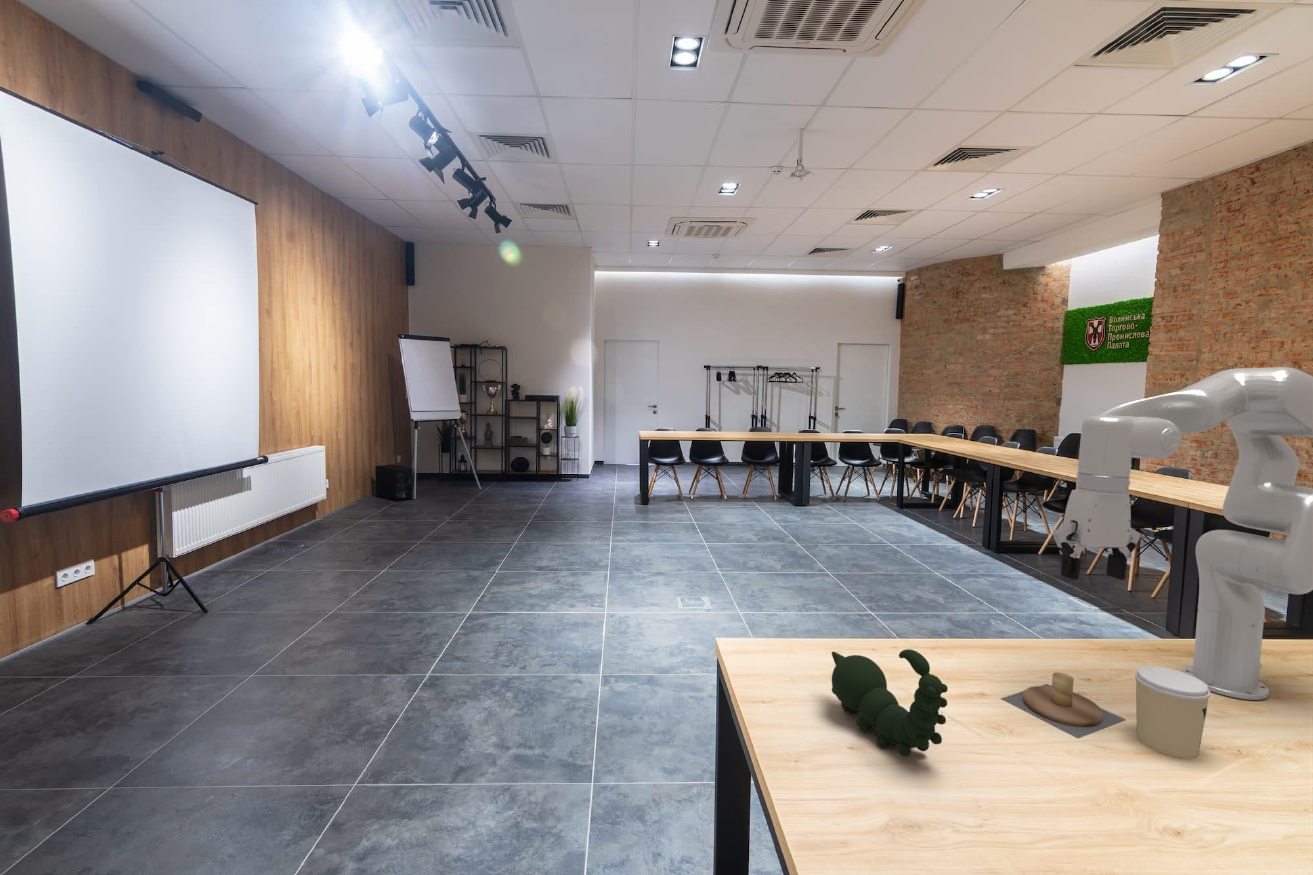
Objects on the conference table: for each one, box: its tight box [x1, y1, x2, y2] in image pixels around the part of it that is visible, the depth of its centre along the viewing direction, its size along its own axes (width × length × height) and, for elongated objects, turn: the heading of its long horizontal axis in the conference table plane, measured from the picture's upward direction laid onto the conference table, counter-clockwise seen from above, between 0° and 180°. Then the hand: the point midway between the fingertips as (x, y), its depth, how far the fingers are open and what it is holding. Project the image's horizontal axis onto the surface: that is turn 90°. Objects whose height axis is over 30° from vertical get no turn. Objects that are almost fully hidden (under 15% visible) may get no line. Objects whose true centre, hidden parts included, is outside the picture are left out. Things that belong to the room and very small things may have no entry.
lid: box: [1023, 671, 1102, 727], centre depth 108 cm, size 12×12×6 cm
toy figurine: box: [831, 648, 948, 758], centre depth 101 cm, size 9×19×25 cm
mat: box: [1000, 683, 1127, 739], centre depth 108 cm, size 14×14×1 cm
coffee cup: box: [1134, 665, 1211, 760], centre depth 97 cm, size 9×9×12 cm
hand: (1092, 577), depth 106 cm, fingers open, 9 cm apart
